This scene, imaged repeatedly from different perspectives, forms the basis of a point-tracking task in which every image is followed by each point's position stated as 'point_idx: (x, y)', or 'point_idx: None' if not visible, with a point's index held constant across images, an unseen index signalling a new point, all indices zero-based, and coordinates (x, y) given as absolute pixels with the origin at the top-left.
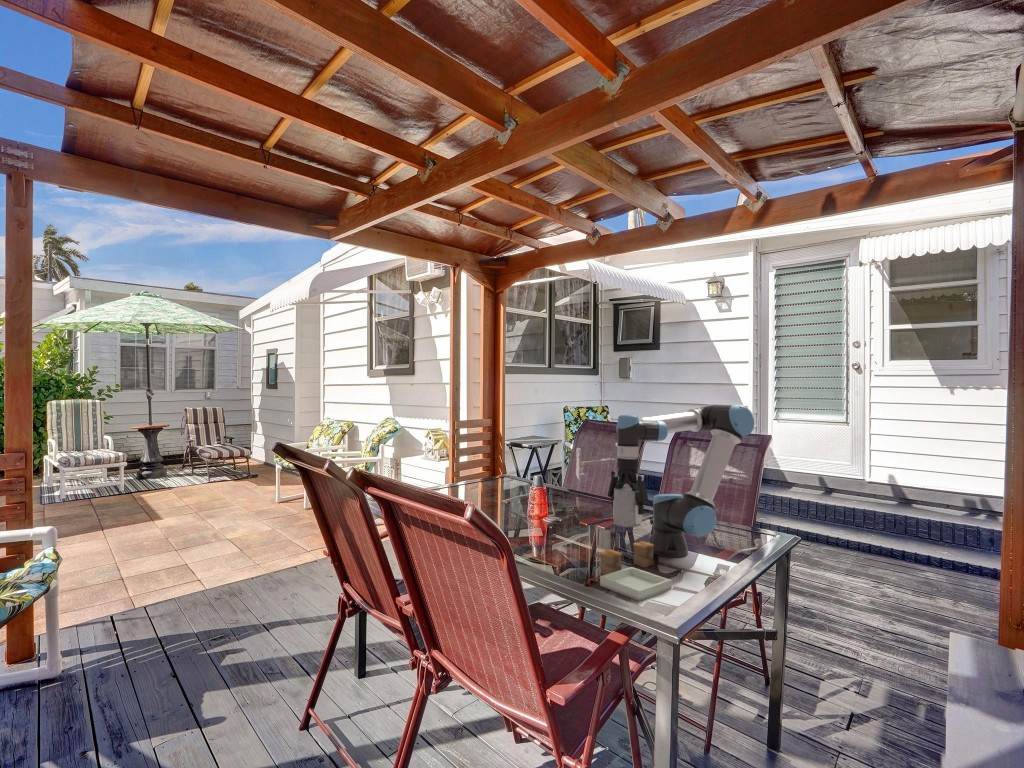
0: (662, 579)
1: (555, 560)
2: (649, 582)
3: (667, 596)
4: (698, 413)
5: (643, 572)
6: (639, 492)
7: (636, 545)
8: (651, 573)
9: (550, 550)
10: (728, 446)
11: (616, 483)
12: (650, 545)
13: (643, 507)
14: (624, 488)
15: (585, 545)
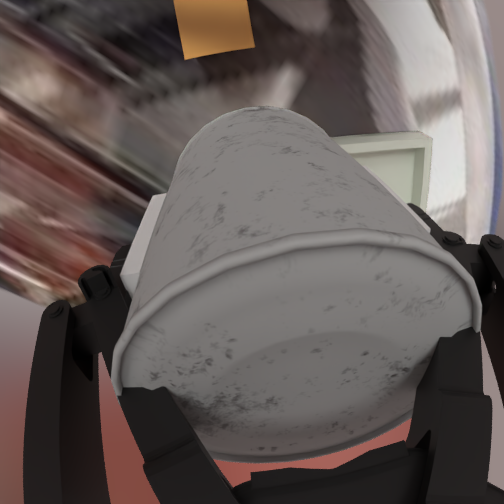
0: (411, 146)
1: (82, 262)
2: (371, 156)
3: (433, 174)
4: None
5: (348, 152)
6: (492, 363)
7: (204, 55)
8: (371, 142)
9: (6, 234)
10: None
11: (67, 438)
12: (247, 6)
13: (441, 229)
14: (211, 390)
15: None
